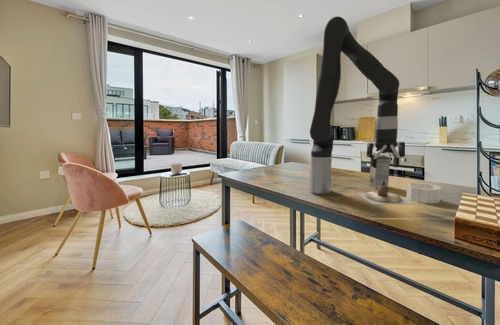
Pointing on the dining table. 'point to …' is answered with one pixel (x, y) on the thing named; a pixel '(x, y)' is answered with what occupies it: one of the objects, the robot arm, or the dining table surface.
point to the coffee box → (380, 172)
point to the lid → (383, 195)
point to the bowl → (423, 193)
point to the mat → (383, 202)
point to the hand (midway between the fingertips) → (384, 167)
